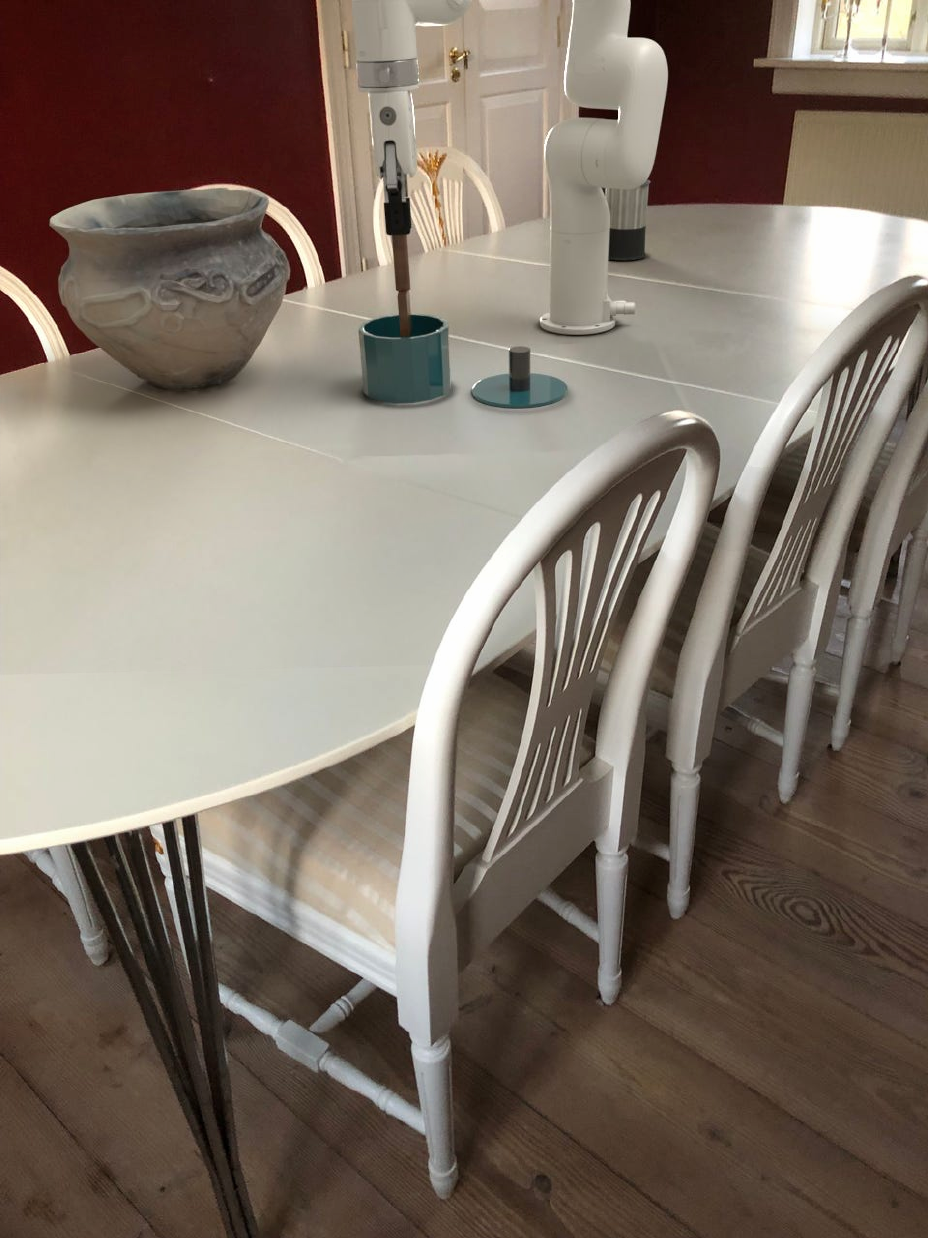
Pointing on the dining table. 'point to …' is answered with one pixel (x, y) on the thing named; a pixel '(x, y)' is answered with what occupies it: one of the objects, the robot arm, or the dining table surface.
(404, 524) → the dining table surface
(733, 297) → the dining table surface
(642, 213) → the milk frother
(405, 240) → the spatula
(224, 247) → the clay pot
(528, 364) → the lid
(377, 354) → the pot
